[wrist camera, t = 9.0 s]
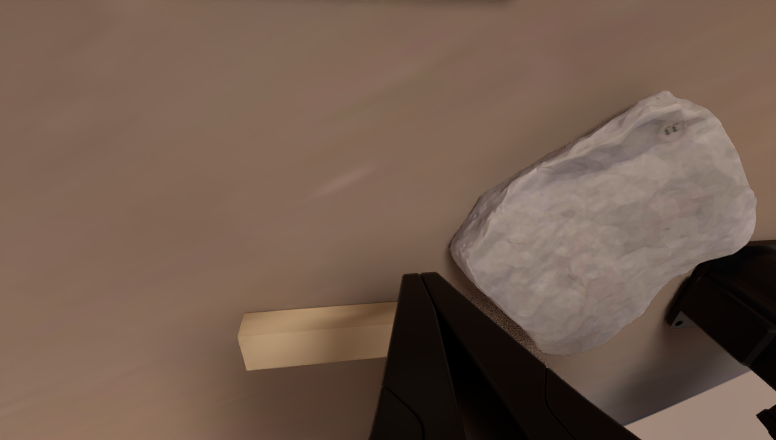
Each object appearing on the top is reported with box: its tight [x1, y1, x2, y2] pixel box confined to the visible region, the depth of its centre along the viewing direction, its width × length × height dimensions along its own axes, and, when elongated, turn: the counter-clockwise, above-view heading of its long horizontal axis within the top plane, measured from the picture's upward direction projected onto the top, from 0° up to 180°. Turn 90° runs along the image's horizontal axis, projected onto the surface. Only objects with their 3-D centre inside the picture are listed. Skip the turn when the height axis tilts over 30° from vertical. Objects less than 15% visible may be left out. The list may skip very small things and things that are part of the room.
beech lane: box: [238, 302, 397, 371], centre depth 14 cm, size 11×20×2 cm, turn 178°
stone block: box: [450, 90, 757, 356], centre depth 17 cm, size 12×5×10 cm
